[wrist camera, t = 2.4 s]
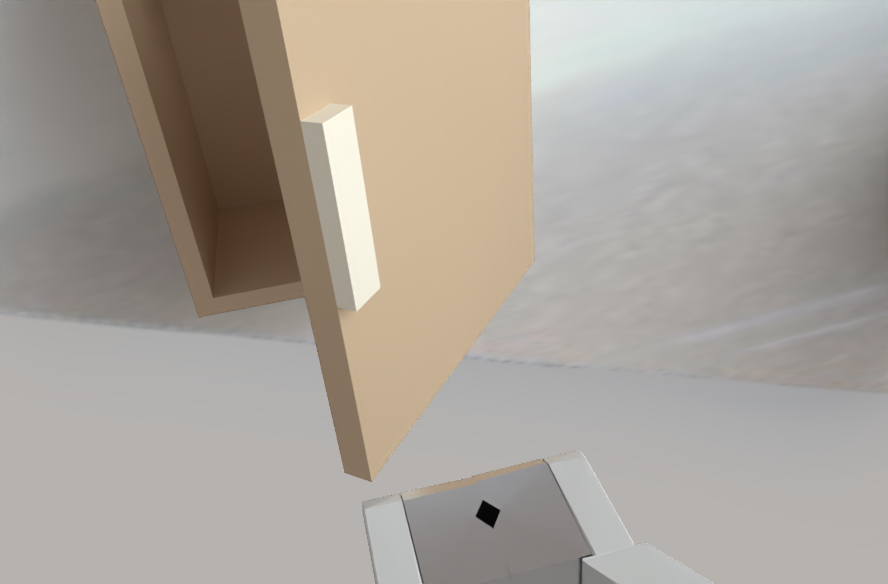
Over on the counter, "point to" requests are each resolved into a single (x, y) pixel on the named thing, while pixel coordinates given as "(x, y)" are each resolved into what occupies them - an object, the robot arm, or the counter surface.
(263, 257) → the tan box
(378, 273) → the lid
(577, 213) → the counter surface
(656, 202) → the counter surface
